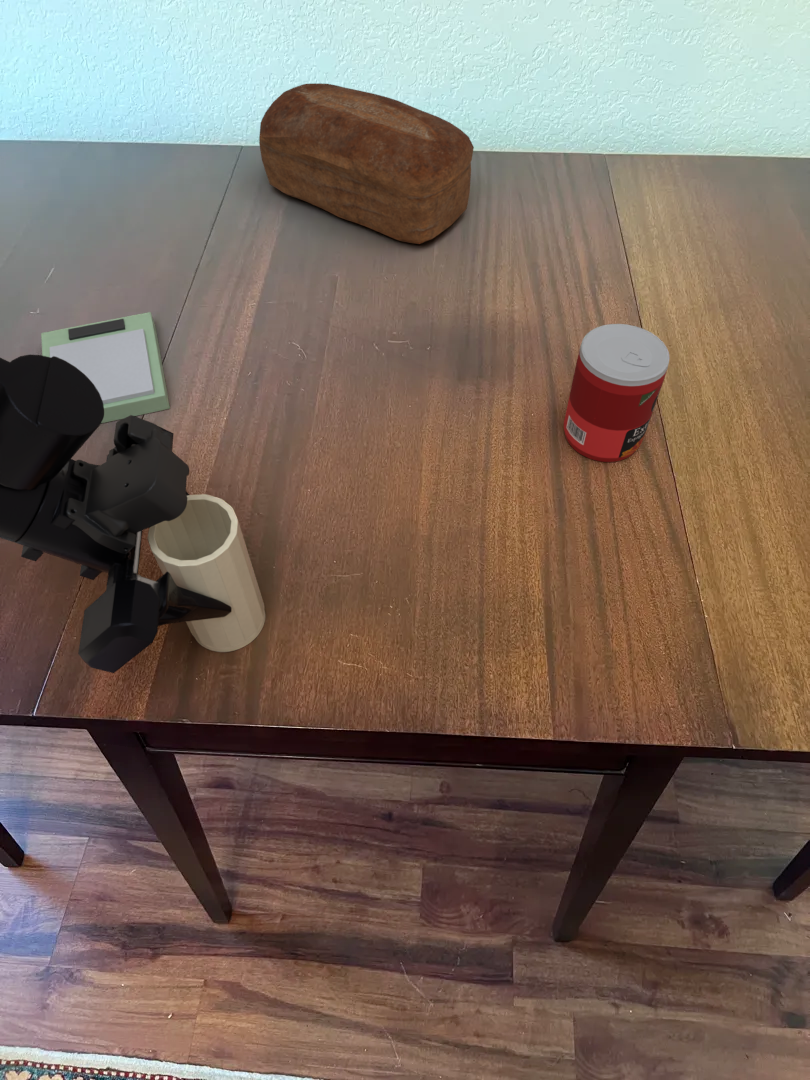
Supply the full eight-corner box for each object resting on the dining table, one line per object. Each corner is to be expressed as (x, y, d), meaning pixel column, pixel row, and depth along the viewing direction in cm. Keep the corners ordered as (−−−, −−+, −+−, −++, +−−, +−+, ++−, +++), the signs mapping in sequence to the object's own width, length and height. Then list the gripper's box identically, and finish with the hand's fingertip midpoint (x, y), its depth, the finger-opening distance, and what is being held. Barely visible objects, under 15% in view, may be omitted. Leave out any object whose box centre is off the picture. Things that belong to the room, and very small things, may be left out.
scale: (170, 409, 82) (163, 390, 79) (52, 434, 80) (42, 416, 78) (155, 325, 89) (149, 307, 87) (47, 347, 88) (38, 328, 85)
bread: (424, 264, 96) (425, 167, 86) (252, 193, 105) (235, 98, 95) (484, 210, 102) (491, 115, 92) (317, 148, 112) (307, 55, 102)
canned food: (634, 473, 76) (663, 389, 67) (553, 452, 77) (571, 368, 68) (648, 419, 80) (677, 333, 71) (571, 400, 82) (590, 315, 73)
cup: (223, 666, 64) (185, 581, 54) (175, 621, 67) (129, 531, 56) (281, 616, 67) (255, 525, 56) (232, 574, 69) (199, 480, 59)
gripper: (66, 560, 42) (296, 637, 52) (104, 335, 53) (289, 432, 63) (-17, 645, 48) (203, 699, 58) (32, 426, 59) (211, 503, 69)
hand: (229, 575), depth 61 cm, fingers closed on cup, 6 cm apart
